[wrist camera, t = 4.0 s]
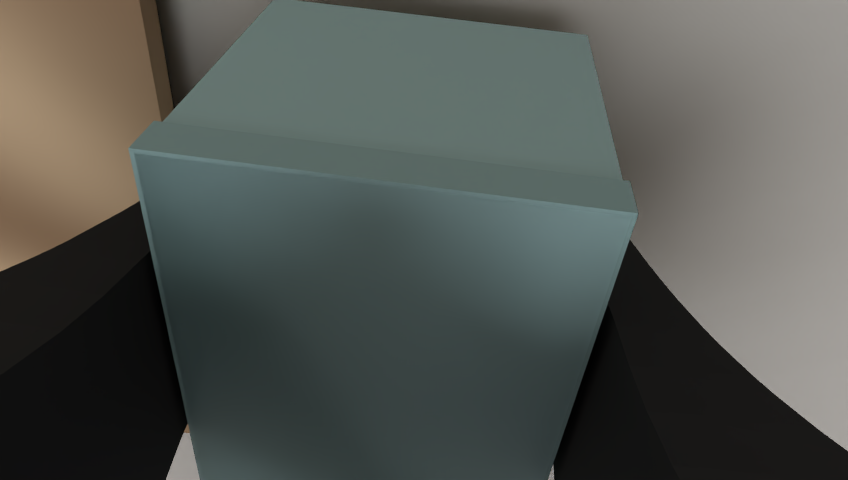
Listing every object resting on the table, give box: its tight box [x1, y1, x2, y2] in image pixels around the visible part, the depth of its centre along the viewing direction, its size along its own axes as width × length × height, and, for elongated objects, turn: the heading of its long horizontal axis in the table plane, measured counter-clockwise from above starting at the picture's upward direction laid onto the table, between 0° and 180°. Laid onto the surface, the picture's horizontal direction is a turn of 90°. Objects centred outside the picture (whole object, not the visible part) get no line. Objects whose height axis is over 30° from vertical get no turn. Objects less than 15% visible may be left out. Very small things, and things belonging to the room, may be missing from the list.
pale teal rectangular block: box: [128, 0, 638, 480], centre depth 10 cm, size 6×5×5 cm
